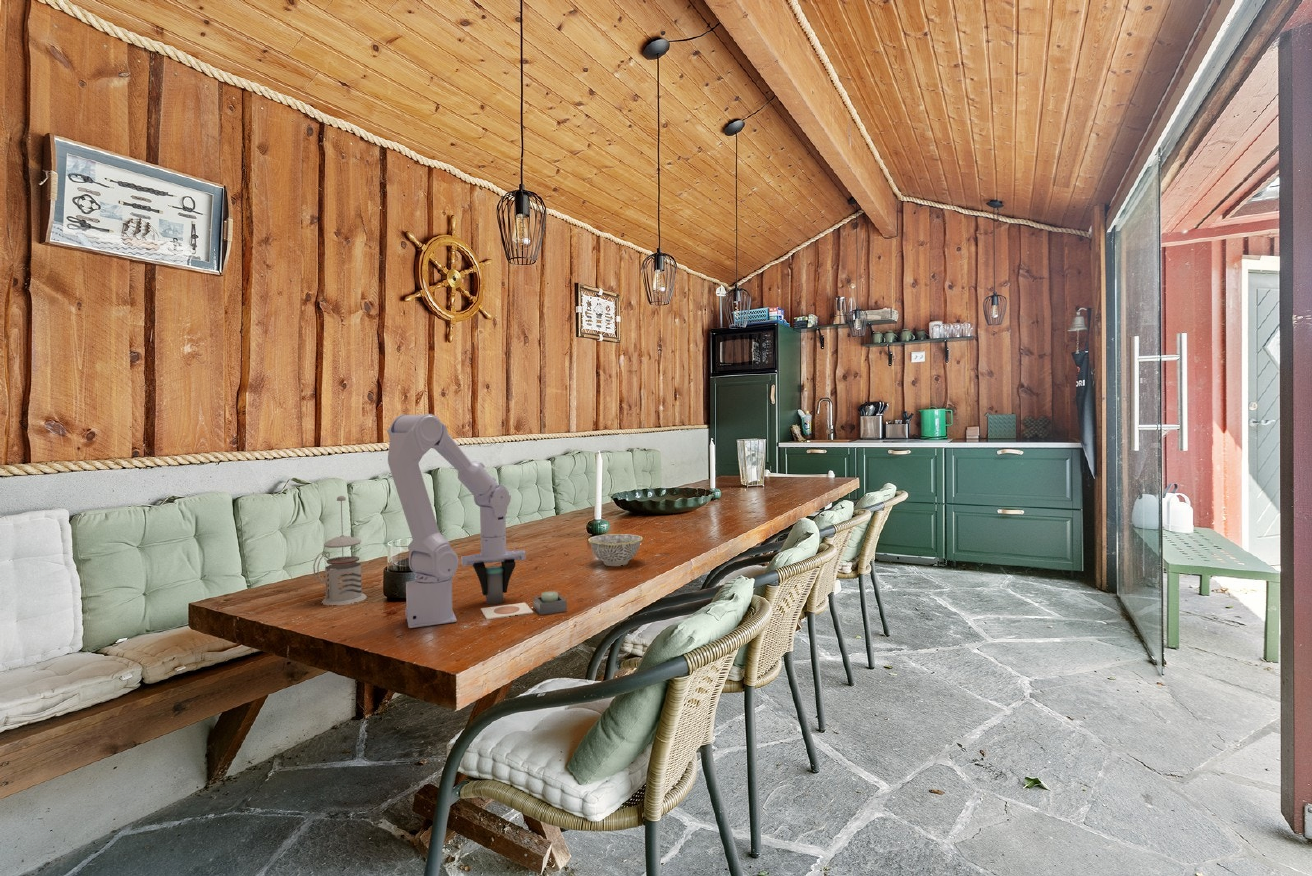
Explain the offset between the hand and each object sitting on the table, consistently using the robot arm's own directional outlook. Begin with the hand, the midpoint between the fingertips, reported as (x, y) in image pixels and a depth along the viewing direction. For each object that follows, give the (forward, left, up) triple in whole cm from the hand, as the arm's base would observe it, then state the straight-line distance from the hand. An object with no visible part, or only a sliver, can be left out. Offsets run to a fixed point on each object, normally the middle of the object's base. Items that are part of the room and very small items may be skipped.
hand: (494, 593), depth 150 cm
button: (+10, -12, 0) cm, 16 cm away
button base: (+10, -12, -2) cm, 16 cm away
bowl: (+39, +23, -2) cm, 45 cm away
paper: (+1, -9, -2) cm, 9 cm away
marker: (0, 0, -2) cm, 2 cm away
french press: (-33, +18, -2) cm, 38 cm away
